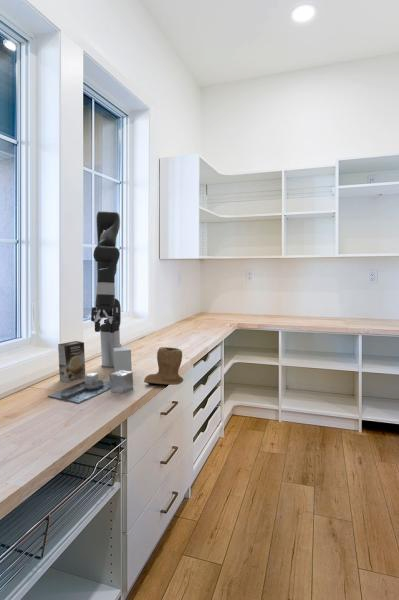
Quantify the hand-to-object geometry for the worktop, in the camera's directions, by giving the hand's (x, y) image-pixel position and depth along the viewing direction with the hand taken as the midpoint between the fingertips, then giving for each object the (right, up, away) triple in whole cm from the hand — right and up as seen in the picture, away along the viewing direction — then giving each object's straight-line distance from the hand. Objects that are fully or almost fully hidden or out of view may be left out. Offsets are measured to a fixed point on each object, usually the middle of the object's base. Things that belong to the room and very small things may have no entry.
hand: (104, 332), depth 156 cm
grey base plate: (-6, -22, -9) cm, 25 cm away
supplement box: (+6, -21, +9) cm, 23 cm away
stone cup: (+26, -21, 0) cm, 33 cm away
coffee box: (-16, -21, +7) cm, 27 cm away
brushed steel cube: (+9, -22, -8) cm, 25 cm away
